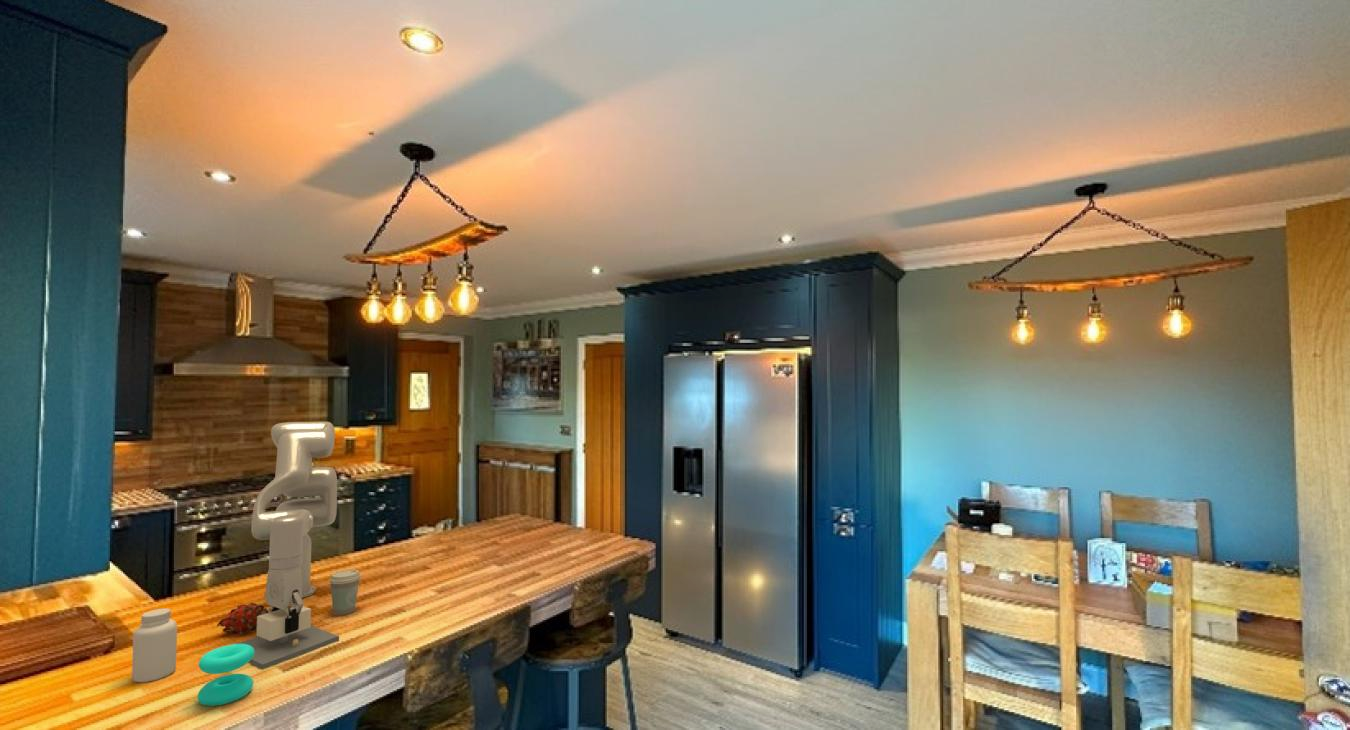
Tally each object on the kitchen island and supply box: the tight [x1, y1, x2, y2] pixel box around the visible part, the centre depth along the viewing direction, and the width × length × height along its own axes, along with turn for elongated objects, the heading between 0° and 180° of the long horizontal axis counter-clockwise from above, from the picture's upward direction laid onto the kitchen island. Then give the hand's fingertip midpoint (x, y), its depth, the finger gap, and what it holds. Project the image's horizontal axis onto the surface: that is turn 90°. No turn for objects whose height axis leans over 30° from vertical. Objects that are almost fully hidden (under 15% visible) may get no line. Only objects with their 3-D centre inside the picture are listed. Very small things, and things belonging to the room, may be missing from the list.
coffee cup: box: [328, 568, 361, 617], centre depth 180 cm, size 8×9×12 cm
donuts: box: [197, 643, 254, 707], centre depth 131 cm, size 10×10×10 cm
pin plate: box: [235, 625, 340, 670], centre depth 156 cm, size 19×19×7 cm
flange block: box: [256, 605, 312, 641], centre depth 156 cm, size 10×7×5 cm
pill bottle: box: [131, 608, 178, 683], centre depth 140 cm, size 8×8×15 cm
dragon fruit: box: [216, 602, 269, 636], centre depth 165 cm, size 8×8×12 cm
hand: (283, 628), depth 156 cm, fingers closed on flange block, 7 cm apart
